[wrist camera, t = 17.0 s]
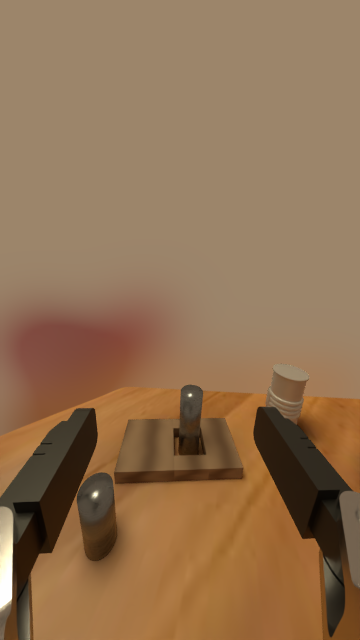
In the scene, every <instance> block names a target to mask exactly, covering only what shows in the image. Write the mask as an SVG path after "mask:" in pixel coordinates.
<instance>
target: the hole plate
mask: <svg viewBox="0 0 360 640" xmlns="http://www.w3.org/2000/svg"><path fill="white" fill-rule="evenodd" d="M179 424H180V419H142V420H128V424H127V427H126V431H125V435H124V438H123V442H122V446H121V449H120V453H119V457H118V460H117V464H116V468H115V471H114V476H115V483H136V482H162V481H188V480H213V479H239V478H242V473H243V466H242V463H241V460H240V458H239V455H238V452H237V450H236V447H235V444H234V442H233V439H232V436H231V434H230V431H229V428H228V426H227V423H226V420H225V418H203V419H201V422H200V435H199V437H200V438H201V444H202V449H203V454H204V455H182V456H174V437H179Z"/></svg>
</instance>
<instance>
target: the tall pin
mask: <svg viewBox="0 0 360 640" xmlns="http://www.w3.org/2000/svg"><path fill="white" fill-rule="evenodd" d="M202 398H203V391H202V389H201V388H200V387H198V386H195V385H186V386H184V387H183V388H182V389H181V401H180V424H179V447H178V452H179V455H180V456H182V455H198V447H199V435H200V422H201V410H202Z"/></svg>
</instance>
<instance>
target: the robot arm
mask: <svg viewBox="0 0 360 640" xmlns="http://www.w3.org/2000/svg"><path fill="white" fill-rule="evenodd" d="M253 434H254V440H255V444H256V446H257V448H258V450H259V452H260V454H261V456H262V458H263V460H264V462H265V464H266V466H267V468H268V470H269V472H270V474H271V476H272V478H273V480H274V482H275V484H276V486H277V488H278V490H279V492H280V494H281V496H282V498H283V500H284V502H285V504H286V506H287V508H288V510H289V513H290V515H291V517H292V519H293V521H294V523H295V525H296V527H297V529H298V531H299V533H300V535H301V537H302V539H308V538H315V539H316V541H317V543H318V545H319V547H320V550H319V568H320V589H321V609H322V629H323V640H360V493H357V492H353V491H352V489H351V488H350V487H349V486H348V485H347V484H346V482H345V481H344V480H343V479H342V478H341V476H340V475H339V474H338V473H337V472H336V470H335V469H334V468H333V467H332V466H331V464H330V463H329V462H328V461H327V460H326V458H325V457H324V456H323V455H322V454H321V452H320V451H319V450H318V449H316V446H315V445H314V444H313V443H312V442H311V440H309V439H308V437H307V436H306V434H305V433H304V432H303V431H302V430H301V428H300V427H299V426H298V425H296V424H295V423H294V422H292V421H291V420H290V419H288V418H284V417H283V415H282V414H281V413H280V412H279V410H278V409H277V408H276V407H258V409H257V414H256V420H255V425H254V432H253ZM97 436H98V433H97V423H96V414H95V409H94V408H78V409H76V410H75V411H74V412H73V414H72V415H71V416H70V418H69V419H68V421H61V422H60V423H59V424H58V425H57V426H55V427H54V428H53V429H52V430H50V431H49V433H48V434H47V435H46V437H45V438H44V439H43V441H42V442H41V444H40V446H38V447H37V449H36V450H35V451H34V453H33V455H32V456H31V457H30V458H29V460H28V461H27V462H26V464H25V465H24V466H23V468H22V469H21V470H20V472H19V473H18V474H17V476H16V477H15V478H14V480H13V481H12V482H11V484H10V485H9V486H8V488H7V489H6V491H5V492H4V493H3V495H2V496H1V497H0V640H34V639H33V615H32V590H31V570H32V568H33V566H34V564H35V562H36V559H37V557H38V555H39V554H41V553H52V551H53V549H54V546H55V544H56V541H57V539H58V537H59V534H60V532H61V529H62V527H63V525H64V522H65V520H66V517H67V515H68V513H69V510H70V508H71V505H72V503H73V500H74V498H75V496H76V493H77V491H78V488H79V486H80V484H81V481H82V479H83V476H84V474H85V472H86V469H87V467H88V464H89V462H90V460H91V457H92V455H93V452H94V450H95V447H96V443H97Z"/></svg>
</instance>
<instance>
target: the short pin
mask: <svg viewBox="0 0 360 640" xmlns="http://www.w3.org/2000/svg"><path fill="white" fill-rule="evenodd" d="M77 504H78V511H79V517H80V523H81V529H82V536H83V542H84V548H85V553H86V556H87V557H88V558H89V559H90V560H92V561H97V560H100V559H102V558H104V557H105V556H106V555H107V554H108V553H109V552H110V551H111V549H112V547H113V546H114V543H115V541H116V537H117V525H116V513H115V501H114V489H113V480H112V478H111V476H110V475H109V474H107V473H96V474H94V475H92V476H90V477H89V478H88V479H87V480H86V481H85V482H84V483H83V484H82V486H81V487H80V489H79V491H78V494H77Z"/></svg>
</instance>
